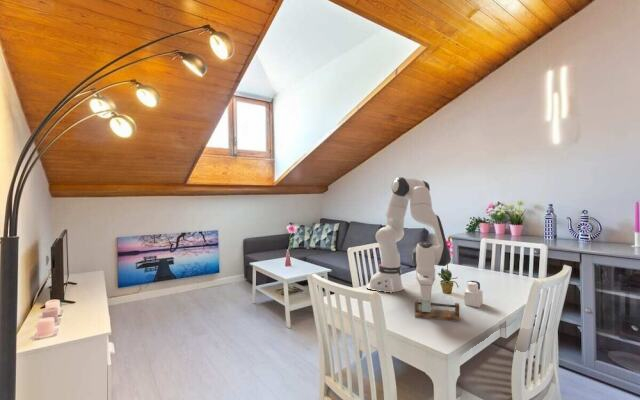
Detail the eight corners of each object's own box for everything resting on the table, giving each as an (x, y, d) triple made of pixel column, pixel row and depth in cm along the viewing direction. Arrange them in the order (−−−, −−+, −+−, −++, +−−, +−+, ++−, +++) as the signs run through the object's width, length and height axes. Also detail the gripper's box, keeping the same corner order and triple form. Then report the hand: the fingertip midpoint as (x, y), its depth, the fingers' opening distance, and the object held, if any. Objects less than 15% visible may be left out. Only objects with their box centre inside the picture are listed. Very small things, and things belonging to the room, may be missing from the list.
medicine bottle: (468, 300, 168) (467, 278, 167) (482, 303, 163) (482, 281, 163) (464, 304, 162) (464, 282, 162) (479, 307, 158) (479, 284, 157)
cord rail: (414, 317, 149) (414, 303, 149) (415, 310, 157) (415, 298, 157) (460, 321, 143) (459, 307, 143) (458, 314, 150) (458, 301, 150)
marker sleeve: (422, 311, 150) (421, 297, 149) (422, 307, 154) (421, 293, 154) (430, 312, 148) (430, 297, 148) (430, 308, 153) (430, 294, 153)
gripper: (419, 269, 161) (419, 295, 162) (418, 281, 142) (419, 311, 143) (432, 270, 159) (432, 296, 160) (433, 282, 140) (433, 312, 141)
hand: (426, 303), depth 151 cm, fingers closed on marker sleeve, 5 cm apart
